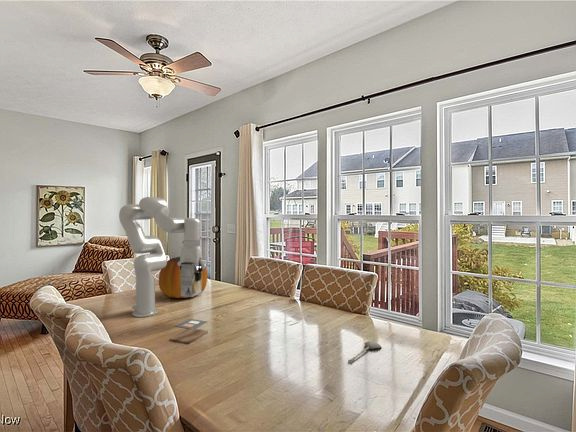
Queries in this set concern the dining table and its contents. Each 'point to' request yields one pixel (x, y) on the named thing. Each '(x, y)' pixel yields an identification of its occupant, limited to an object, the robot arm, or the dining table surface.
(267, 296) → the dining table surface
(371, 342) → the soupspoon
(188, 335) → the walnut pad
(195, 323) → the color patch mat
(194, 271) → the coffee box
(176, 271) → the decorative pumpkin
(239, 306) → the dining table surface
